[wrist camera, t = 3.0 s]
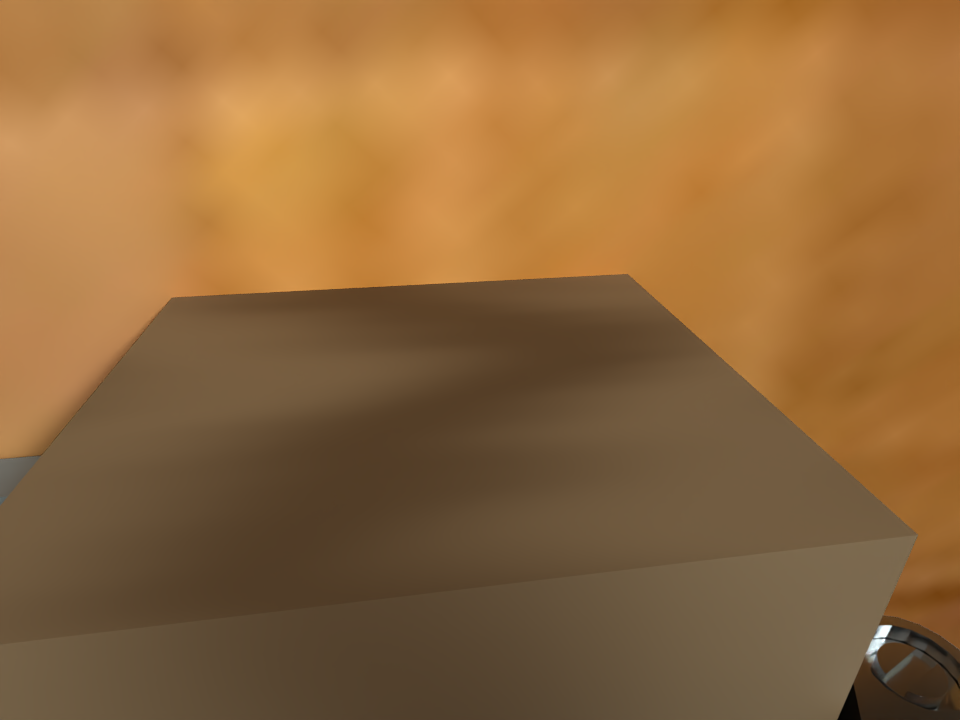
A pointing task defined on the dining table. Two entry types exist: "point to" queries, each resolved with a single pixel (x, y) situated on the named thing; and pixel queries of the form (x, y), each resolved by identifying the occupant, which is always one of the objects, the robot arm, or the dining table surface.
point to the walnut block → (436, 521)
